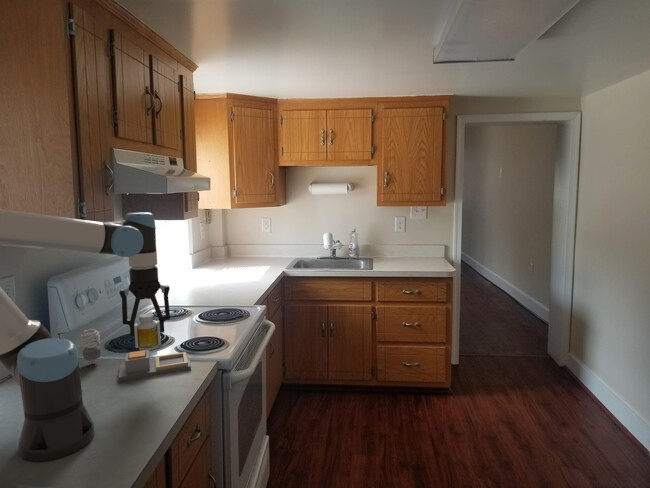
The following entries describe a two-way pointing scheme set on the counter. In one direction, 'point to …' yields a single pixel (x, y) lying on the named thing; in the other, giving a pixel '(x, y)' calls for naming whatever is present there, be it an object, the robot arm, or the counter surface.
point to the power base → (153, 366)
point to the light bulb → (93, 351)
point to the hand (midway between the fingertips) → (148, 344)
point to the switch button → (137, 354)
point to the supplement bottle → (147, 332)
